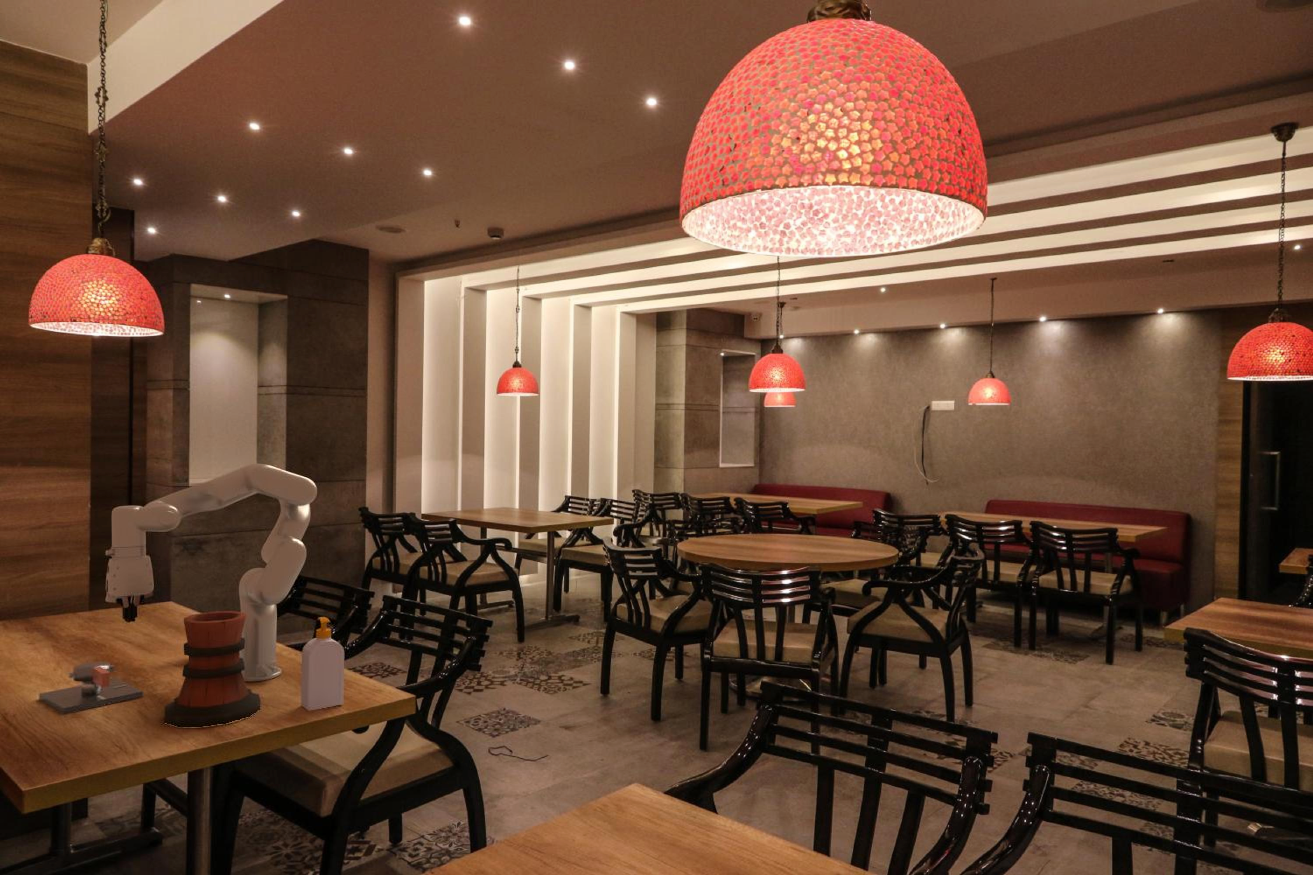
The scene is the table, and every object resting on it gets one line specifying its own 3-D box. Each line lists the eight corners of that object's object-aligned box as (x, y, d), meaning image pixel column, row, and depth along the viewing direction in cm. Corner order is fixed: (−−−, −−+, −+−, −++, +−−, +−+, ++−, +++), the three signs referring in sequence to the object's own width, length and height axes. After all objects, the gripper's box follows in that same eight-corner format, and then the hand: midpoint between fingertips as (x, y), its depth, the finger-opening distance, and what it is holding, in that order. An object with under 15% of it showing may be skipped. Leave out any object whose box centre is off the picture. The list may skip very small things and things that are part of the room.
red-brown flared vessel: (149, 731, 192) (151, 628, 192) (181, 699, 216) (183, 607, 216) (251, 724, 198) (253, 624, 198) (270, 693, 222) (272, 604, 222)
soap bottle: (334, 698, 218) (336, 613, 219) (343, 705, 213) (345, 618, 213) (299, 704, 213) (301, 617, 213) (307, 711, 207) (309, 622, 207)
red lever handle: (64, 677, 214) (64, 664, 214) (109, 670, 222) (109, 657, 222) (82, 691, 203) (82, 677, 203) (128, 682, 211) (128, 668, 211)
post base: (142, 696, 217) (143, 677, 217) (63, 714, 202) (63, 693, 202) (116, 683, 228) (116, 664, 228) (39, 699, 213) (39, 679, 213)
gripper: (100, 557, 206) (101, 628, 206) (165, 550, 217) (166, 618, 217) (91, 554, 211) (92, 624, 211) (155, 547, 222) (156, 614, 222)
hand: (129, 621), depth 214 cm, fingers closed
